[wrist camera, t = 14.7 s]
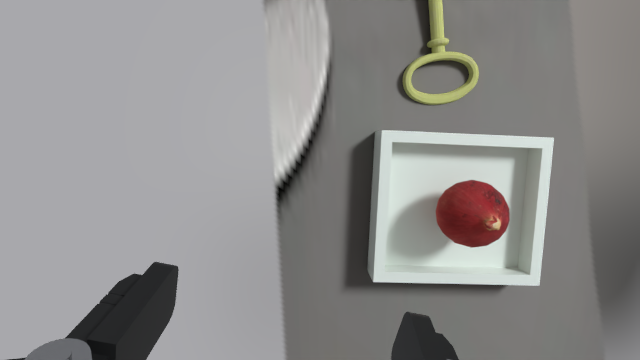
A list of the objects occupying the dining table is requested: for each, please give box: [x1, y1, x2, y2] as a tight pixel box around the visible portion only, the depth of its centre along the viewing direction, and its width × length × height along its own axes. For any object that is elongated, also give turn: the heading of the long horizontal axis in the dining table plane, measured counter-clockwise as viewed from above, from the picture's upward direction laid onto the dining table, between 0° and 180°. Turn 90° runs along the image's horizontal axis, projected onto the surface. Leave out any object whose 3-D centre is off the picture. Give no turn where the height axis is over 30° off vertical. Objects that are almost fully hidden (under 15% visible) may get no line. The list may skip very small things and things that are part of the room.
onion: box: [436, 180, 510, 248], centre depth 31 cm, size 6×6×8 cm
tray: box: [367, 130, 554, 286], centre depth 34 cm, size 14×16×3 cm
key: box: [403, 0, 479, 105], centre depth 33 cm, size 7×12×2 cm, turn 26°
